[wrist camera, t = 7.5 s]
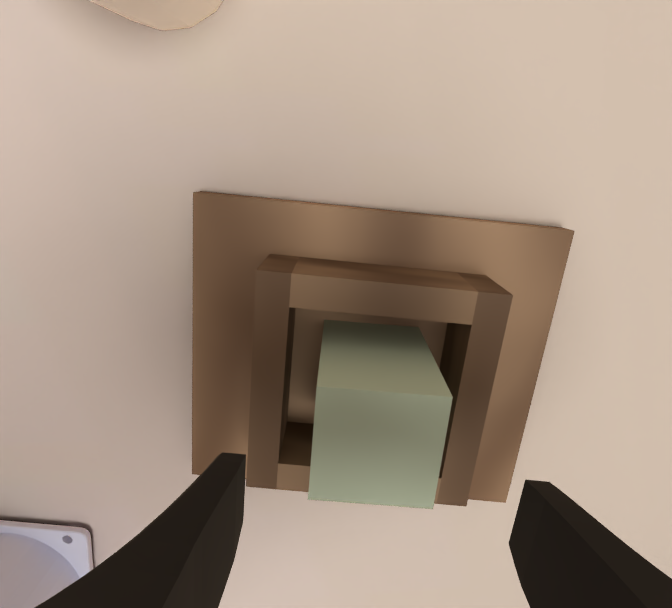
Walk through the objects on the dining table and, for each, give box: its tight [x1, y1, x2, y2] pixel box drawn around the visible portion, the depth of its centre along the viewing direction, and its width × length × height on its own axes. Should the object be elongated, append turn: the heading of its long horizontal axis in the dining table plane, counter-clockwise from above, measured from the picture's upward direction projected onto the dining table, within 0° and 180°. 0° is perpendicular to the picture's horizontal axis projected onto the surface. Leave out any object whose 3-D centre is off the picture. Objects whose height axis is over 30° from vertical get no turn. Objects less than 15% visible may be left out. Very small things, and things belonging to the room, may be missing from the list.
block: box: [308, 320, 453, 509], centre depth 16 cm, size 4×4×6 cm
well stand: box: [192, 191, 574, 506], centre depth 18 cm, size 15×13×4 cm
